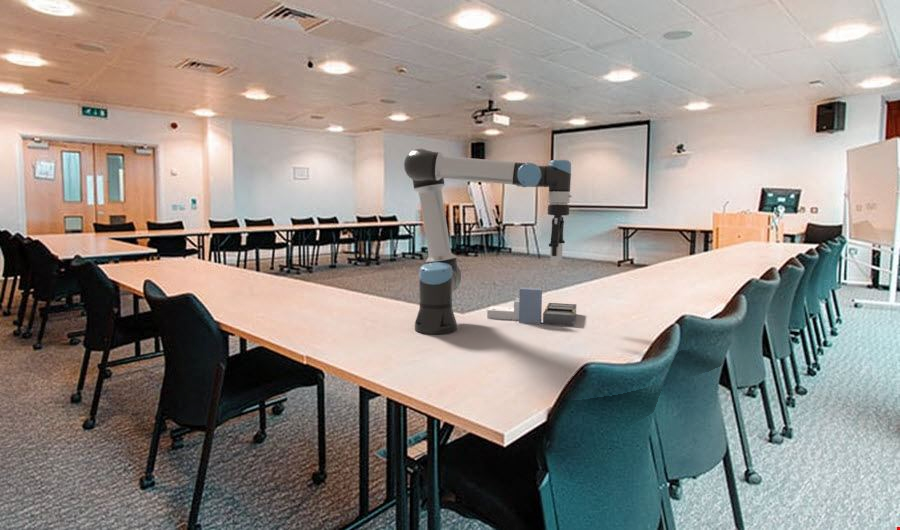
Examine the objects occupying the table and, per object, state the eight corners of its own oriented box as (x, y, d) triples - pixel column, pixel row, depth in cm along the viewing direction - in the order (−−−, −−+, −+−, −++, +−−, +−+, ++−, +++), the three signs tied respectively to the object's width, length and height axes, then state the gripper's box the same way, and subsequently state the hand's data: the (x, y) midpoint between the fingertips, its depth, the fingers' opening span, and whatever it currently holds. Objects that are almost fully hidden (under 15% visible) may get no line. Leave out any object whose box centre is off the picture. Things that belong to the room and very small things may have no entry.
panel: (518, 322, 203) (519, 288, 202) (520, 320, 207) (521, 287, 205) (540, 324, 201) (541, 290, 200) (541, 322, 205) (542, 288, 203)
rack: (542, 323, 202) (543, 312, 201) (548, 312, 222) (548, 302, 221) (573, 326, 198) (573, 314, 198) (576, 314, 219) (576, 303, 218)
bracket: (522, 316, 215) (522, 298, 214) (520, 320, 208) (520, 301, 207) (490, 314, 218) (490, 296, 217) (487, 318, 211) (487, 300, 210)
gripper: (566, 204, 179) (563, 267, 181) (572, 203, 202) (569, 259, 205) (543, 204, 181) (541, 266, 184) (552, 203, 204) (549, 258, 207)
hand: (556, 263), depth 194 cm, fingers open, 13 cm apart
